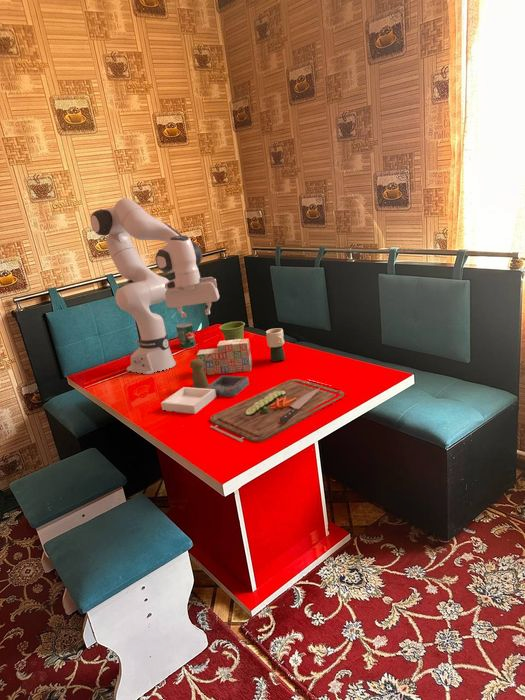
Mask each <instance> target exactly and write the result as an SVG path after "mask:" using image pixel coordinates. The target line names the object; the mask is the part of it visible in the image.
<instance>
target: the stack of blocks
mask: <svg viewBox="0 0 525 700" xmlns="http://www.w3.org/2000/svg"><path fill="white" fill-rule="evenodd" d="M250 346H251V345H250V340H249V338H244V339H234V340H227V341H225V340H220V341H218V344H217V348H206V349H199V350H198V352H197V354H196V359H202V360H203V363H204V366H203V369H204V372H205V375H206V376H207V375H210V376H211V375H220V374H229V373H241V372H242V373H243V372H244V373H245V372H251V371H252V367H253V361H252V353H251V347H250Z"/></svg>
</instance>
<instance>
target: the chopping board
mask: <svg viewBox="0 0 525 700" xmlns="http://www.w3.org/2000/svg"><path fill="white" fill-rule="evenodd" d="M308 380H309V381H313V382H317V383H321V384H325V385H327V384H326V383H322V382H320V381H315V380H313V379H312V380H311V379H308ZM296 382H298V383H296ZM299 383H302V384H299ZM303 384H306V385H309V386H313V387H317V388H318V389H316V388H313V387H309V386H306V385H303ZM328 385H329V384H328ZM329 386H331V385H329ZM320 388H321V389H324V390H327V391H331V392H335V393H339V394H340V396H338V397H337V398H335V399H333V400H331V401H329V402H327V403H325V404H323V405H321V406H320V407H318V408H316V409H314V408H315V407H317V406H318V405H320V404H322V403H324V402H325V401H328V400H330V399H331V398H333V397H335V396H336V394H333V393H330V392H327V391H323V390H320ZM344 394H345V393H344V392H343V391H342V390H335V389H333V388H330V387H326V386H323V385H319V384H316V383H312V382H308V381H306V380H302V379H295V378H293V379H289V380H286V381H285V382H282V383H279V384H278V385H275V386H273V387H271V388H268V389H267V390H264V391H262V392H261V393H257V394H255V395H253V396H252V397H250V398H247V399H245V400H243V401H240V402H238V403H236V404H234V405H232V406H230V407H228V408H225V409H223V410H221V411H219V412H217V413H214V414H213V415H211V416H210V418H209V420H210V423H212V424H213V425H210V426H209V427H210V428H211V429H213V430H215V431H217V432H219V433H221V434H222V435H223V434H224V435H225V436H228V437H230V438H231V439H234V440H236V441H238V442H240V443H242V442H243V441H244V440H243V439H246V440H248V441H250V442H254V443H261V442H265V441H267V440H269V439H272V438H273V437H275V436H276V435H279V434H281V433H282V432H284V431H286V430H288V429H289V428H291V427H293V426H295V425H297V424H298V422H299V423H301V422H303V421H304V420H306V419H308V418H309V417H308V416H310V415H312V414H313V413H315V412H317V411H318V410H320V409H322V408H324V407H325V406H327V405H329V404H331V403H333V402H335V401H336V400H338V399H340V398H342V397H343V396H344ZM312 409H314V410H312ZM310 410H312V411H310ZM309 411H310V412H309ZM307 412H308V413H307ZM312 416H313V415H312ZM307 417H308V418H307ZM310 417H311V416H310ZM305 418H306V419H305ZM303 419H304V420H303ZM302 420H303V421H302ZM300 421H301V422H300ZM214 425H215V426H214ZM218 427H219V428H218ZM220 428H222V429H224V430H226V431H224V430H222V429H220ZM227 431H228V432H227ZM229 432H231V433H233V434H234V435H233V434H231V433H229ZM235 435H237V436H240V437H241V438H240V437H237V436H235Z"/></svg>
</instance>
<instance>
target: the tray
mask: <svg viewBox="0 0 525 700" xmlns="http://www.w3.org/2000/svg"><path fill="white" fill-rule="evenodd" d="M215 398H217V395H216V392H215V389H206V388H193V387H189V386H188V387H187V386H186V387H185V386H183V387H182V388H180V389H179V390H177V391H176V392H175V393H172V394H171V395H170V396H168V397H167V398H166V399H164V400H163V401H162V402H160V405H161V409H162V411H163V410H166V411H165V412H173V411H174V413H175V412H176V413H183V414H184V413H185V414H193V415H194V414H195V415H196V414H197V413H198V412H200V411H201V410H202V409H203V408H204V407H206V406H207V405H208V404H209V403H211V402H212V401H213V400H214V399H215Z"/></svg>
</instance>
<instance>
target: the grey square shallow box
mask: <svg viewBox="0 0 525 700" xmlns="http://www.w3.org/2000/svg"><path fill="white" fill-rule="evenodd" d="M249 385H250V382H249V376H240V375H237V376H236V375H220V376H219V377H218V378H216V379H215V380H213V381H212V382H211V383H210V384H209V383H208V386H207V387H206V388H205V389H215V392H216V396H218V397H219V396H221V397H229V398H230V397H231V398H234V397H236V396H237V395H239V393H240V392H241V391H243V390H244V389H245V388H247V386H249Z"/></svg>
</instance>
